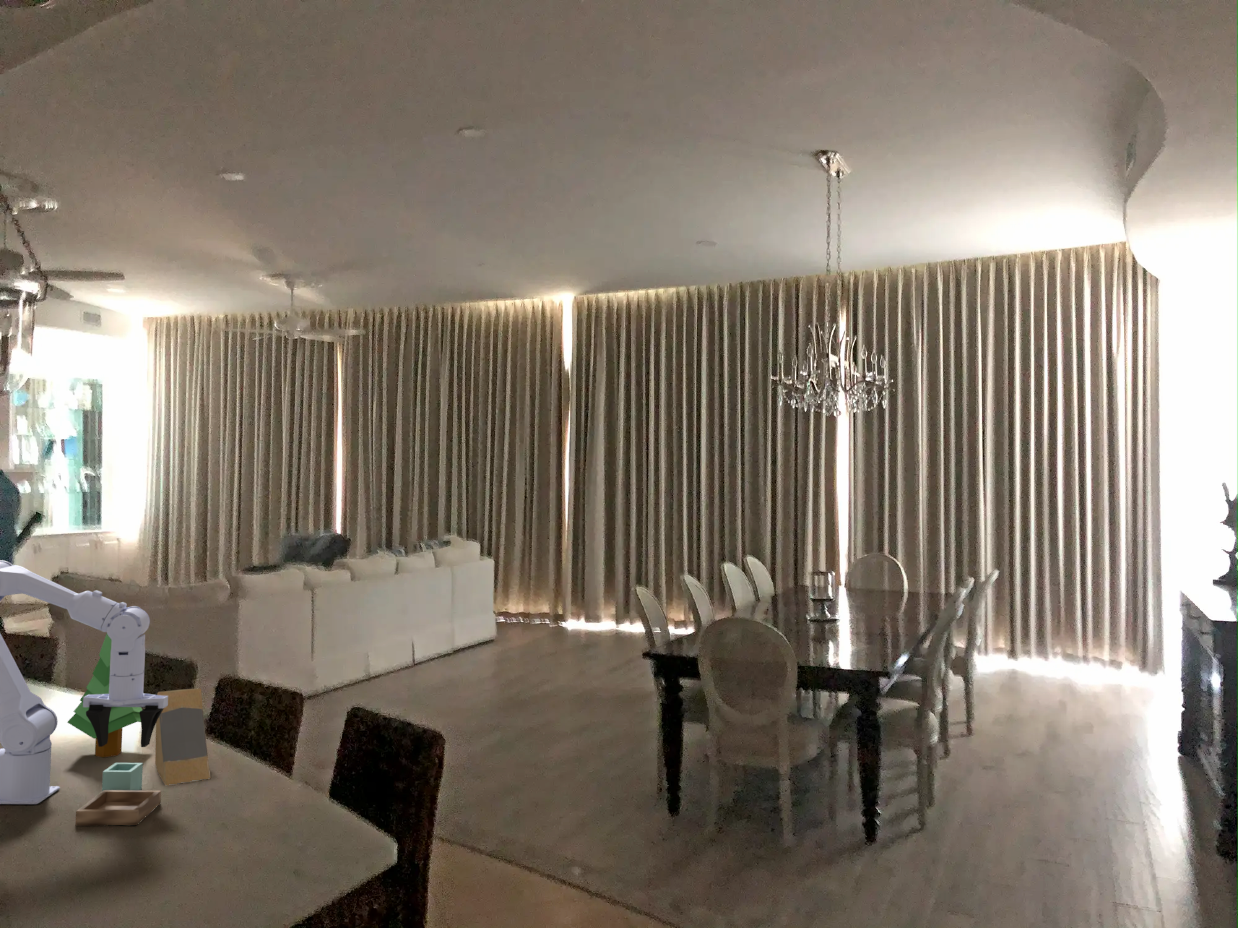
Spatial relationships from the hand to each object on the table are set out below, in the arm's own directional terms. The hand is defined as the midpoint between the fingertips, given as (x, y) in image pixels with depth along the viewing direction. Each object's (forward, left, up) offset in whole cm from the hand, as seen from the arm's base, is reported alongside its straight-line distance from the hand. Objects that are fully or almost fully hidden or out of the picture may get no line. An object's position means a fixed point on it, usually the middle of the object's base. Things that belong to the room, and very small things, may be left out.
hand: (124, 745), depth 169 cm
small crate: (0, 0, -9) cm, 9 cm away
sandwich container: (+6, +13, -10) cm, 17 cm away
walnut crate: (+4, -10, -9) cm, 14 cm away
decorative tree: (-13, +23, -9) cm, 28 cm away
